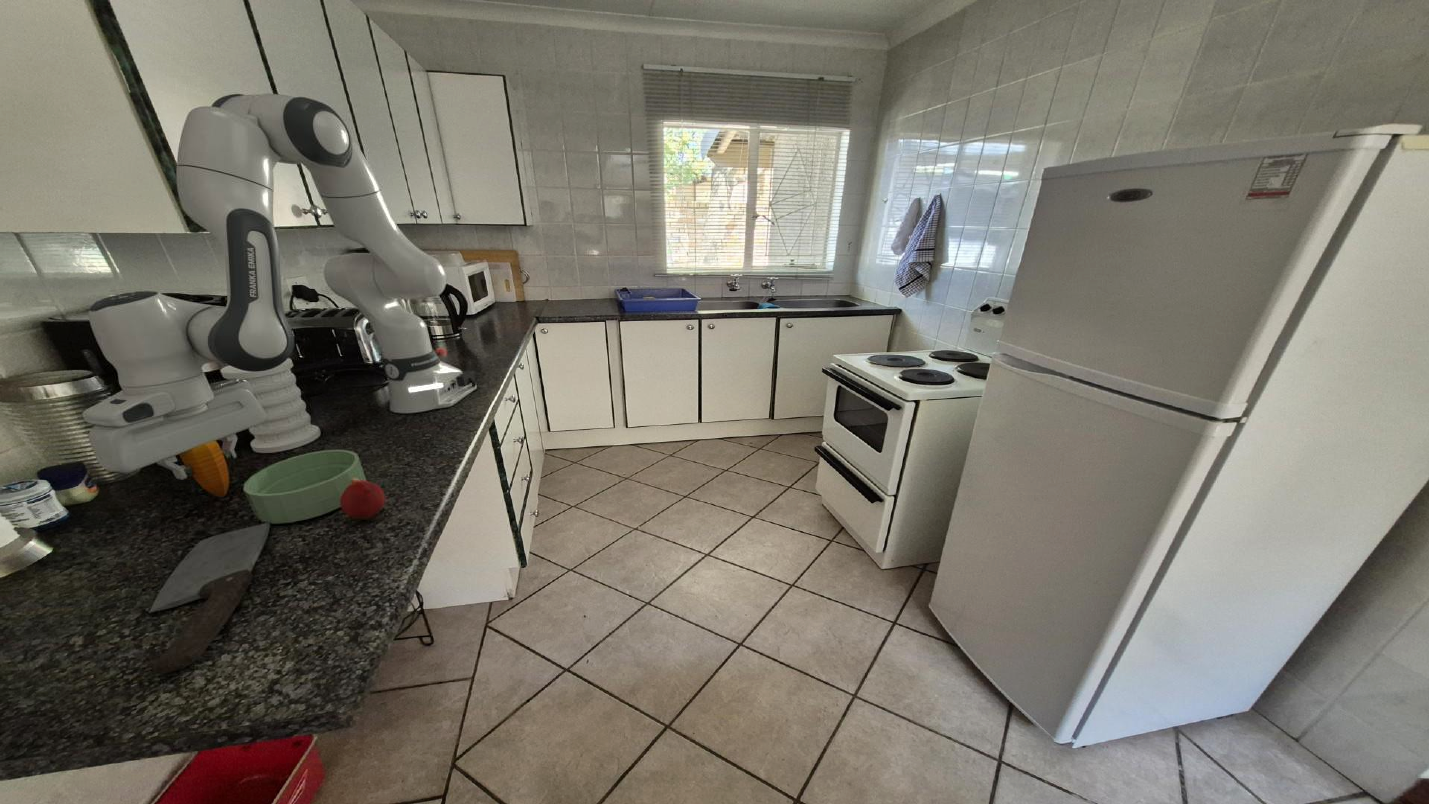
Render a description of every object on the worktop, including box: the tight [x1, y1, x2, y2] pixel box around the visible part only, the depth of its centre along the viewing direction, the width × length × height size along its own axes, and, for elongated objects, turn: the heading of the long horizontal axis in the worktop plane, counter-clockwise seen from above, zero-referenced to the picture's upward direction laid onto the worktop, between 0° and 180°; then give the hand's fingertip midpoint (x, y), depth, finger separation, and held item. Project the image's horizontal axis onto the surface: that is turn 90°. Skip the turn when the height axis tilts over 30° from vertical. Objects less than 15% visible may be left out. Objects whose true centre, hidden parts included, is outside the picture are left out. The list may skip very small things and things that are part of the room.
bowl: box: [242, 449, 367, 525], centre depth 79 cm, size 15×15×6 cm
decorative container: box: [219, 357, 321, 454], centre depth 97 cm, size 12×12×18 cm
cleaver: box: [148, 522, 271, 676], centre depth 60 cm, size 29×10×2 cm, turn 34°
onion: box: [340, 478, 387, 521], centre depth 74 cm, size 6×6×8 cm
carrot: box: [178, 440, 230, 499], centre depth 78 cm, size 5×5×15 cm
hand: (207, 468), depth 78 cm, fingers closed on carrot, 5 cm apart
